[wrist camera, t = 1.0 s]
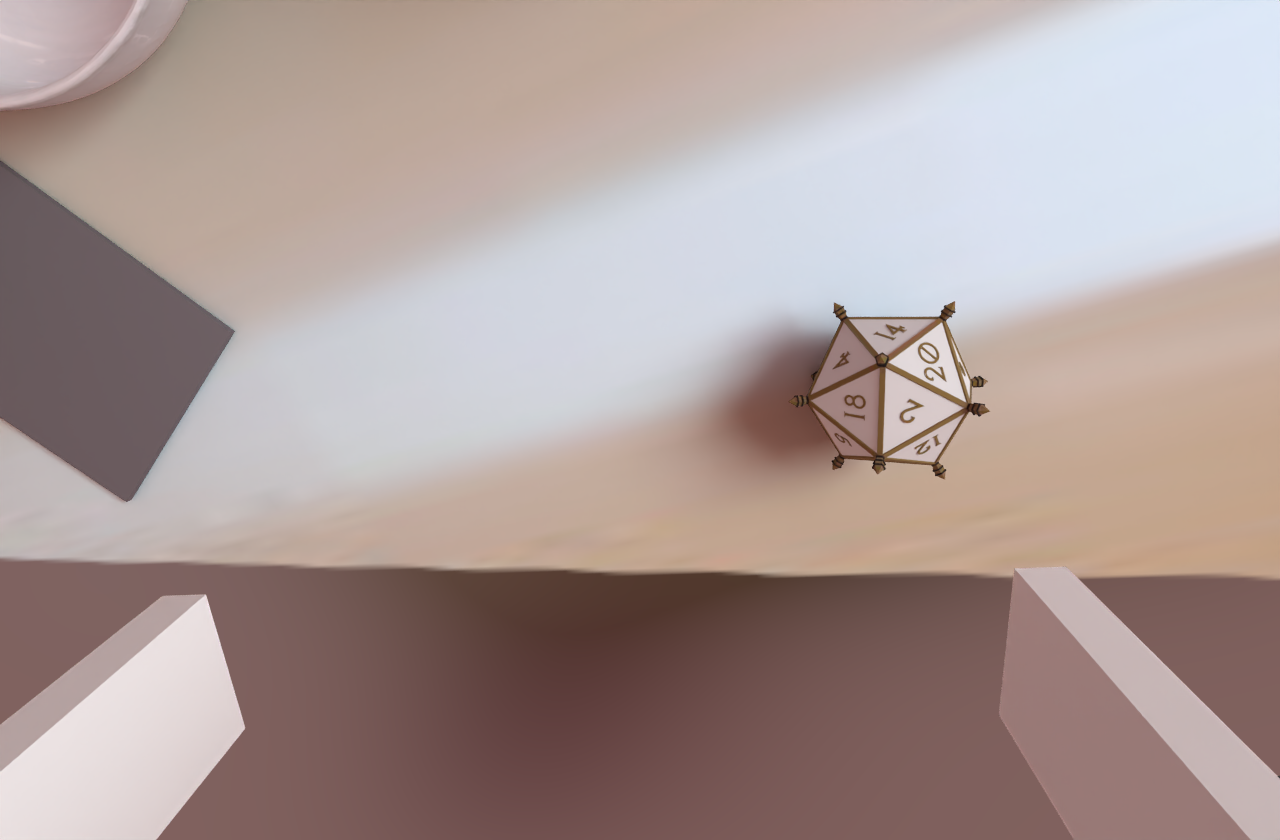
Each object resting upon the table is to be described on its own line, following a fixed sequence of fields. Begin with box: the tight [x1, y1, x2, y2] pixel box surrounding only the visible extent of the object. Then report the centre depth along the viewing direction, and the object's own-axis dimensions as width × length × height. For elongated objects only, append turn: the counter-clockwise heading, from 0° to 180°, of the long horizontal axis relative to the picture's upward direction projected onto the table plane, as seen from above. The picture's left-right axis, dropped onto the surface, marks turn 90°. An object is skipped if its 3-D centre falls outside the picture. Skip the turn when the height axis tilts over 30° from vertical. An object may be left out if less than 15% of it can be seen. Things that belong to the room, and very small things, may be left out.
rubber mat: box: [0, 161, 235, 502], centre depth 39 cm, size 20×13×1 cm, turn 52°
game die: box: [789, 301, 989, 479], centre depth 34 cm, size 9×8×10 cm
